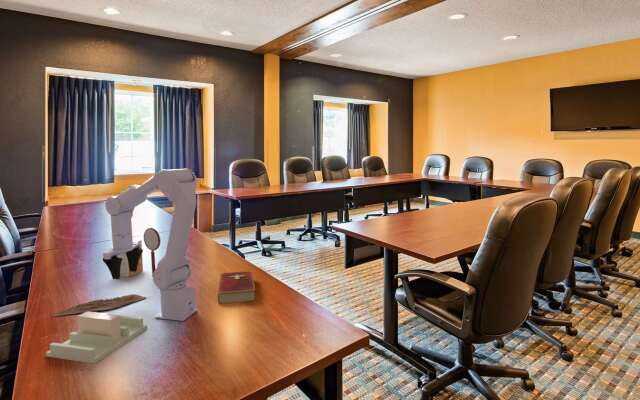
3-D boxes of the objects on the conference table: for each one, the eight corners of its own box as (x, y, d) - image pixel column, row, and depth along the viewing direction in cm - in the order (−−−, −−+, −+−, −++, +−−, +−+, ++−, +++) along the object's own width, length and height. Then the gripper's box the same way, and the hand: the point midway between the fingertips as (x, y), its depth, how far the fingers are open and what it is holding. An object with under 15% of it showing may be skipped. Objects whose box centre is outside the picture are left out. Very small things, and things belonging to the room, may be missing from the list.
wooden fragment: (144, 293, 133) (143, 290, 133) (148, 304, 124) (148, 301, 124) (54, 309, 120) (54, 306, 120) (51, 323, 111) (51, 319, 111)
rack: (147, 328, 107) (146, 317, 107) (95, 363, 90) (94, 351, 89) (104, 322, 110) (104, 312, 110) (46, 356, 93) (45, 344, 92)
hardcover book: (218, 304, 124) (217, 292, 124) (220, 282, 145) (220, 272, 144) (255, 301, 127) (255, 289, 126) (252, 280, 147) (252, 270, 147)
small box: (129, 277, 150) (127, 244, 148) (115, 275, 151) (113, 243, 149) (143, 270, 157) (141, 239, 156) (130, 269, 159) (128, 238, 157)
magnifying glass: (163, 280, 146) (161, 228, 143) (159, 281, 144) (157, 229, 142) (148, 276, 150) (145, 226, 147) (144, 278, 149) (141, 227, 146)
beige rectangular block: (120, 336, 100) (119, 315, 99) (112, 342, 97) (110, 320, 96) (88, 332, 102) (86, 311, 102) (79, 338, 100) (77, 316, 99)
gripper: (127, 228, 129) (130, 267, 131) (93, 237, 115) (96, 281, 117) (145, 229, 128) (148, 268, 130) (113, 239, 114) (116, 283, 116)
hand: (125, 275), depth 123 cm, fingers open, 7 cm apart
